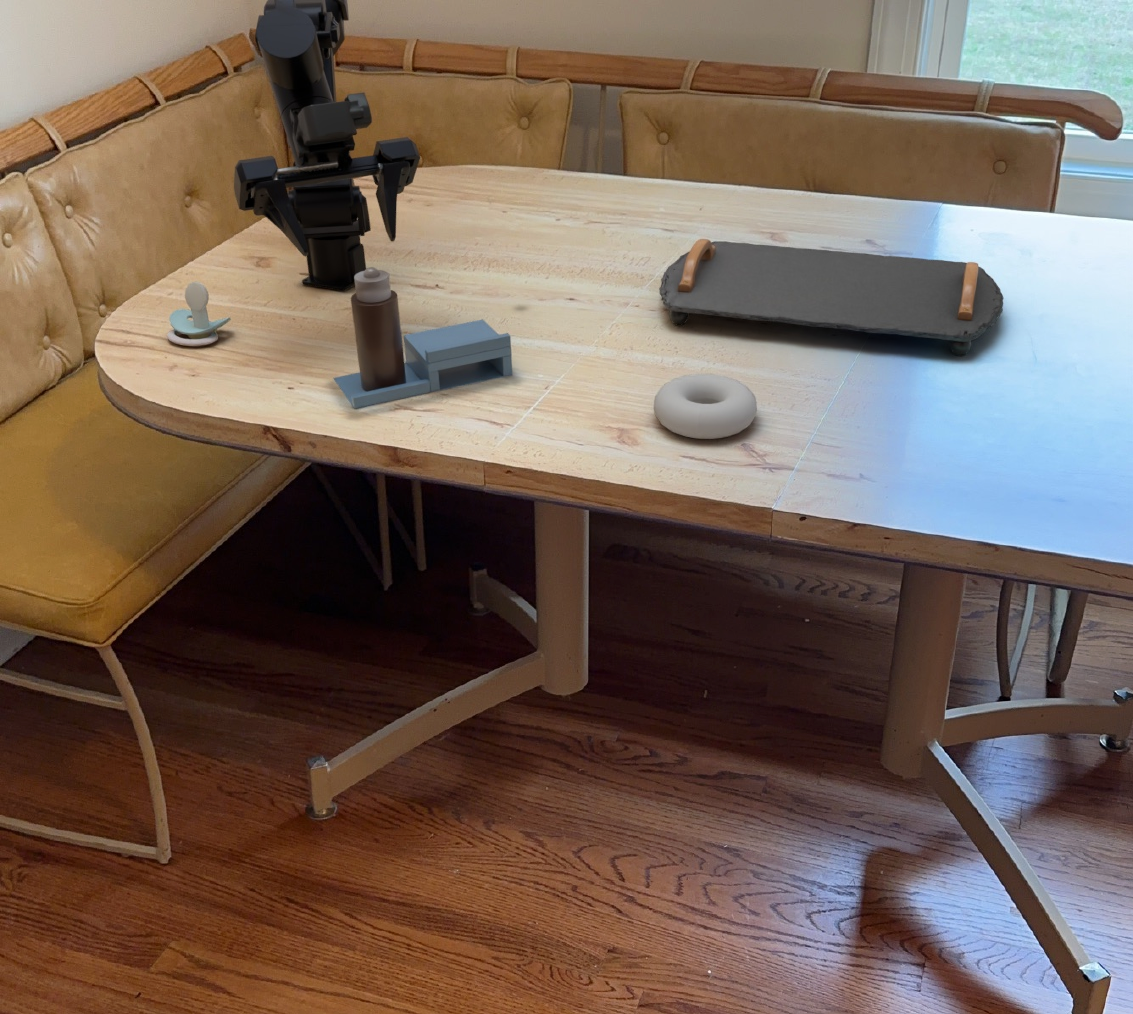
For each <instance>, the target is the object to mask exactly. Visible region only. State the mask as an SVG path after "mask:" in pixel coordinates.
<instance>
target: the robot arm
mask: <svg viewBox="0 0 1133 1014" xmlns="http://www.w3.org/2000/svg"><path fill="white" fill-rule="evenodd" d="M349 19H350V18H349V4H348V0H266V2H265V4H264V6H263V14H260V15H258V18H257V22H256V28H255V32H254V40H255V44H256V46H257V50H258V52H260V53H261V57H262V60H263V62H264V66H265V70H266V74H267V76H268V77H269V83H270V86H271V89H272V93H273V97H274V100H275V103H276V105H277V109H278V112H279V115H280V119H281V122H282V124H283V129H284V132H285V135H286V143H287V145H288V148H289V149H290V151H291V154H292V158H293V164H292V166H288V167H281V168H278V167H279V166H278V164H277V161H276V158H275V157H274V156H273V155H268V156H261V157H253V158H246V159H238V161H237V163H236V164H235V166H234V177H233V191H234V196H235V199H236V203H237V205H238V209H239V210H240V211H243V212H247V211H253V214H254V215H255V216H264V217H265V218H266V219H268V220H269V222H271V223H272V224H273V225H274V226H275V227H276V228H278V230H279V231H281V232H282V233H283V234H284V236H285V237H286V238H287V239H288V240H289V241H290V242H291V243H292V245H293V246H294V247H295V248H296V249H297V251H299V253H300V254H301V255H302V256H303V257H306V263H307V270H308V276H307V277H305V278H303V279H302V280H301V284H302V285H303V286H308V287H309V286H310V287H316V288H322V289H327V290H328V289H329V290H333V291H340V292H345V291H348V290H350V289H351V288H353V287H355V280H354V277H355V275H356V274H357V273H359V272H362V271H365V270H366V269H367V263H366V255H365V247H364V244H363V243H361V237H365V233H369V232H371V231H372V230H371V229H372V228H371V220H370V213H369V212H370V211H369V206H368V201H367V197H366V196H365V195H363V193H362V191H361V187H360V185H355V180H354V179H355V178H363V177H368V176H369V177H370V176H372V179H373V182H374V184H375V186H377V187H376V191H375V196H376V201H377V204H378V208H379V210H380V214H381V218H382V222H383V225H384V229H385V232H386V234H387V236H388V239H389V241H390V242H395V240H396V237H397V205H398V202H397V201H398V195H400V194H401V193H403V192H404V190H405V187H407V186H409V185H411V184H413V182H414V179H415V175H416V173H417V171H418V170H417V169H418V166H419V163H420V160H421V155H420V152H419V149H418V147H417V146H418V145H417V143H415V142H414V141H413V140H412V139H411V138H409V137H408V136H404V137H398V138H391V139H390V138H389V139H384V140H383V139H382V140H377V141H376V142H375V145H374V150H373V154H372V155H365V156H359V157H352V155H351V152H353V151H355V148H356V142H355V140H354V136H357V135H358V131H357V130H360V129H367V128H369V126H371V124H372V123H373V117H372V112H371V107H370V104H369V101H368V98H367V95H366V93H365V92H357V93H348V94H347V95H346V97H344V100H341V101H337V89H336V88H337V87H336V75H335V60H334V57H335V55H336V53H337V52H338V51H339V49H340V48H341V46H342V45H343V43H344V42H345V39H346V37H345V34H346V33H345V22H347V21H349ZM287 188H292V189H288V190H287Z"/></svg>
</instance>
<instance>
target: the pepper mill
mask: <svg viewBox="0 0 1133 1014" xmlns="http://www.w3.org/2000/svg"><path fill="white" fill-rule="evenodd" d="M390 279H391V278H390V274H389V272H388V271H386V270H383V269H377V268H376V267H373V266H369V267H366V270H365V271H362V272H359V273H357V274H356V275H355V277H354V280H355V285H354V287H355V292H354V293H353V294H352V295H351V296H350V306H351V313H352V322H353V329H354V337H355V344H356V353H357V361H358V369H359V372H360V378H361V386H362V388H363V390H365V391H366V392H368V391H372V390H377V389H382V388H387V387H391V386H396V385H401V384H405V383H406V374H405V364H404V363H405V356H404V346H403V337H402V336H403V335H402V326H401V316H400V308H399V298H398V293H397V292H396V291H395V290H392V288H391V280H390Z"/></svg>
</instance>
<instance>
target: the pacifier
mask: <svg viewBox="0 0 1133 1014" xmlns="http://www.w3.org/2000/svg"><path fill="white" fill-rule="evenodd" d="M184 298H185V299H184V300H185V303H186V304H187V307H188V308H189V309H186V308H180V309H179V308H178V309H175V310H174V311H172V312H171V313H170V315H169V323H170V326H171V327H172V329H171V330H169V331H168V332H167V334H166V338H167V340H168V341H170V342H171V343H173V344H176V345H181V346H187V347H201V346H207V345H211V344H213V343H215V342H216V341H218V340H219V335H218V333H217V330H218V329H220V328H221V327H223V326H226V324H228V323H229V322H230V321H231V320H232V319H231V316H228V317H225V318H221V319H217V320H213V321H210V319H209V313H208V309H207V306H208V304H209V299H210V296H209V291H208V289H207V287H206V286H205V284H203V283H201V282H200V281H191V282H189V283H188V284H187V286H186V287H185V291H184ZM190 319H192V320H190ZM181 334H183V335H186V336H187V337H188V338H183V337H180V336H179V335H181Z"/></svg>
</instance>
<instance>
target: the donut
mask: <svg viewBox="0 0 1133 1014" xmlns="http://www.w3.org/2000/svg"><path fill="white" fill-rule="evenodd" d="M653 411H654V414H655V416H656V418H657V419H658V421H659V422H660V424H661V425H662V426H663V427H664V428H666V429H668V430H669V431H670V432H672V433H673V434H677V435H679V436H682V437H687V438H691V439H692V438H693V439H701V440H716V439H723V438H727V437H728V438H729V437H731V436H734V435H737V434H739V433H741V432H742V431H743V430H745V429H746V428H748V427H749V426H751V424H752V423H753V420H754V418H755V417H756V416H757V411H758V404H757V398H756V396H755V394H754V391H752V390H751V389H750V388H749V386H748V385H746V384H745V383H743V382H742V381H740V380H738V379H735V378H733V377H729V376H726V375H722V374H717V373H716V374H715V373H691V374H684V375H681V376H677V377H675V378H672V379H671V380H669V381H667V382H665V383H664V384H663V385H662V386H661V387H660V388H659V390H658V391H657V392H656V394H655V396H654V399H653Z"/></svg>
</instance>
